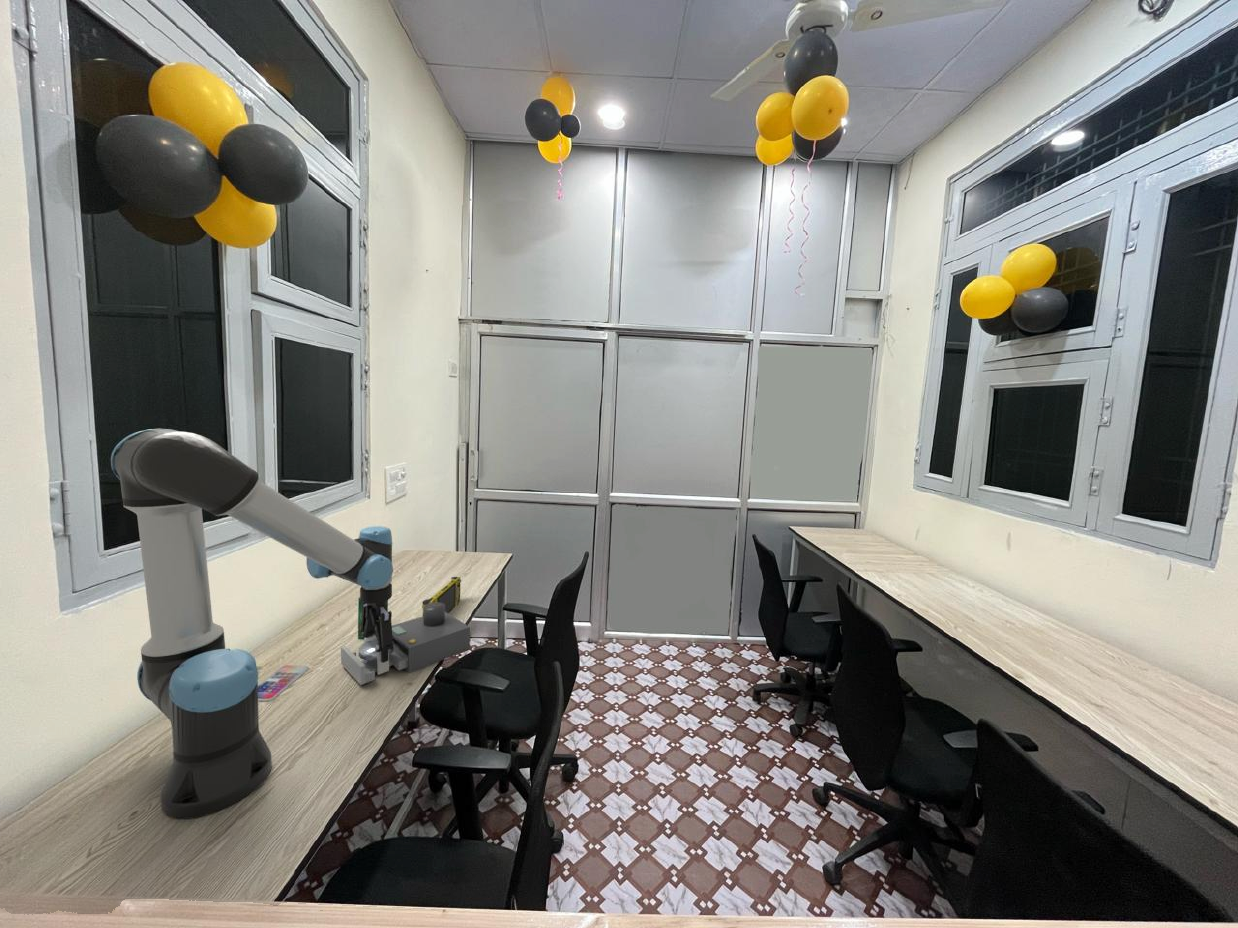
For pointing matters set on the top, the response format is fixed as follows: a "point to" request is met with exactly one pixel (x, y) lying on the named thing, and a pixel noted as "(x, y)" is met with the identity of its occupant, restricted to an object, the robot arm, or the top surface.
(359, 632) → the coffee box
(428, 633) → the player
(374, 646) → the disc
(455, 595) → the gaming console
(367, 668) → the sliding drawer insert
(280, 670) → the smartphone
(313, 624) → the top surface
